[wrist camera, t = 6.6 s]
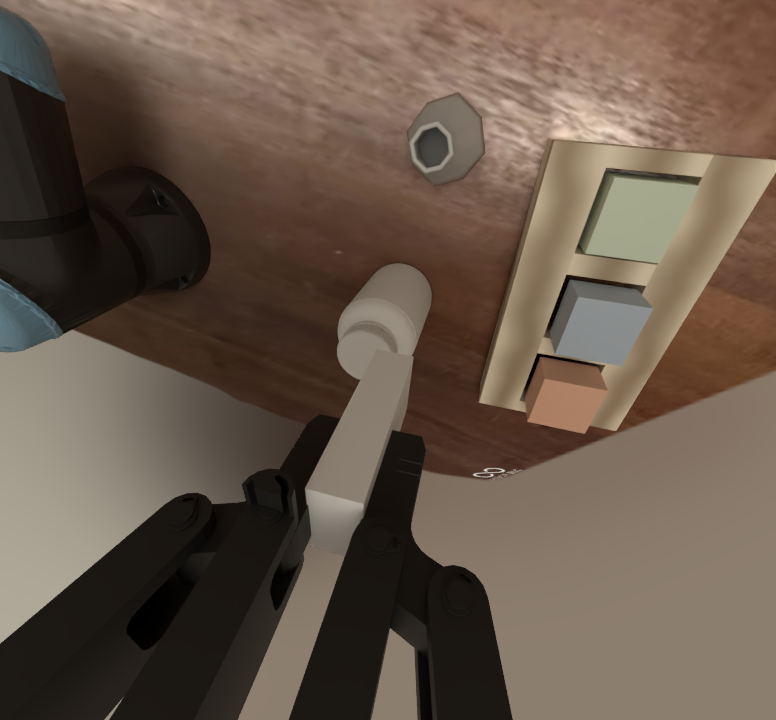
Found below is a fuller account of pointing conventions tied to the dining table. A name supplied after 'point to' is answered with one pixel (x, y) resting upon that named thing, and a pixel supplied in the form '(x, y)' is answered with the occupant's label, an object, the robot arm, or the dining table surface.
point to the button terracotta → (564, 394)
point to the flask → (446, 139)
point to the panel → (614, 261)
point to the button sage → (635, 216)
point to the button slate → (598, 322)
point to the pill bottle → (383, 317)
